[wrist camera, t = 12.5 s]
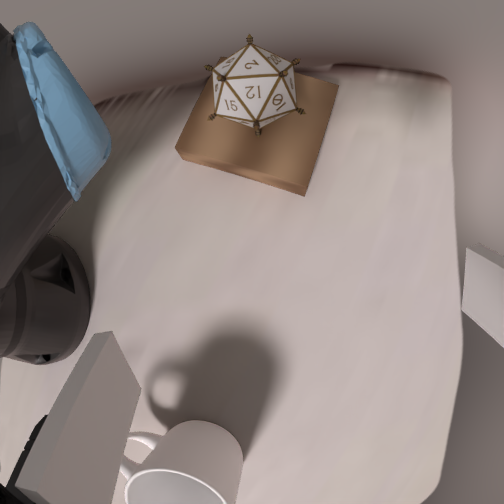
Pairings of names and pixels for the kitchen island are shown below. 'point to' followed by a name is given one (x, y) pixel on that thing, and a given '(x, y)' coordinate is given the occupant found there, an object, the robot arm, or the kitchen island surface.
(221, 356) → the kitchen island surface
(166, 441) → the mug
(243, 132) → the pedestal
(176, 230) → the kitchen island surface
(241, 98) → the game die
